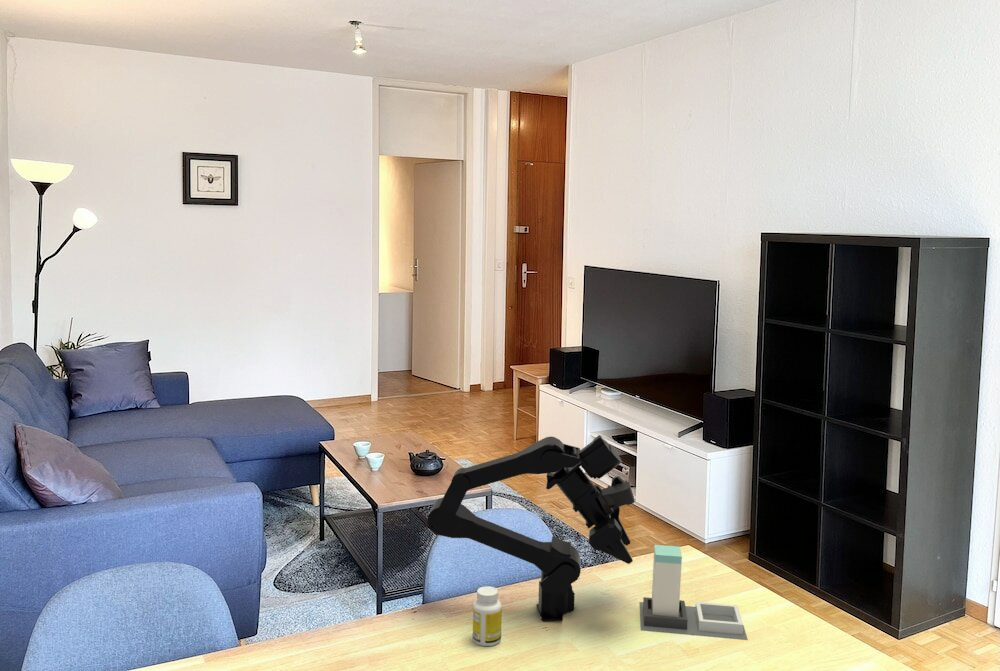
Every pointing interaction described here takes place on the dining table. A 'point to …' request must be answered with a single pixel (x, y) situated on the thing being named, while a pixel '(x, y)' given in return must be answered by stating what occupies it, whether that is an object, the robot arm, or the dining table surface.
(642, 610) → the board
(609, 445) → the robot arm
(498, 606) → the supplement bottle
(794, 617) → the dining table surface
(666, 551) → the plug
